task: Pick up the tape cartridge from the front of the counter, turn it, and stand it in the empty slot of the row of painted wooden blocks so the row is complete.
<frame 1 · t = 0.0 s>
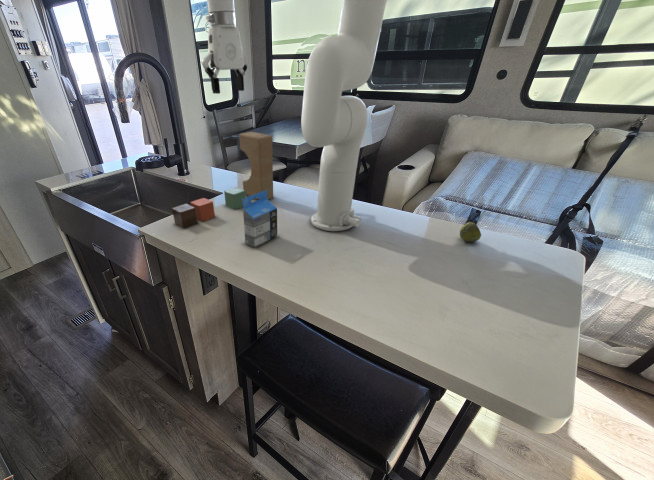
hand: (228, 91, 100), 31 cm above the kitchen counter, tool pointing down, fingers open, 9 cm apart
lime: (466, 241, 80), on the kitchen counter
block 3: (186, 223, 95), on the kitchen counter
block 1: (236, 205, 105), on the kitchen counter
tape cartridge: (261, 241, 85), on the kitchen counter
block 2: (204, 217, 98), on the kitchen counter
decorative block: (258, 196, 112), on the kitchen counter
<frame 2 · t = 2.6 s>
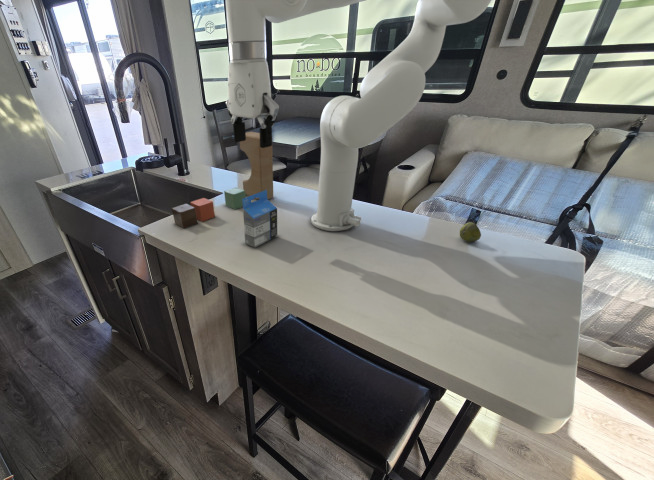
hand: (252, 143, 74), 23 cm above the kitchen counter, tool pointing down, fingers open, 9 cm apart
nothing on the kitchen counter moved.
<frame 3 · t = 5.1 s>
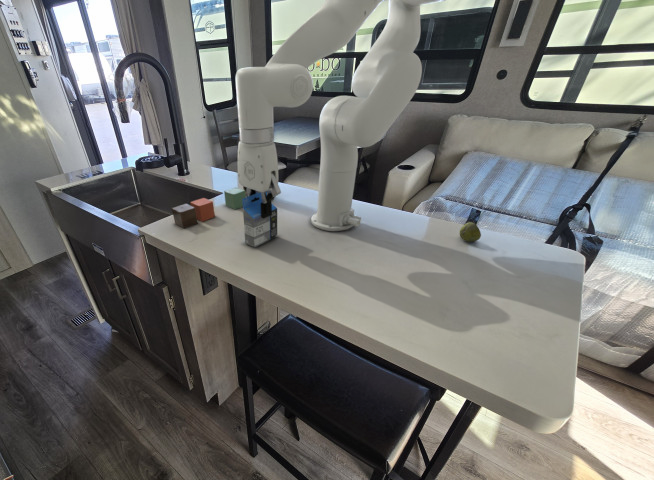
hand: (260, 213, 80), 8 cm above the kitchen counter, tool pointing down, fingers closed on tape cartridge, 3 cm apart
tape cartridge: (261, 240, 85), on the kitchen counter, touching gripper
everything else where it was.
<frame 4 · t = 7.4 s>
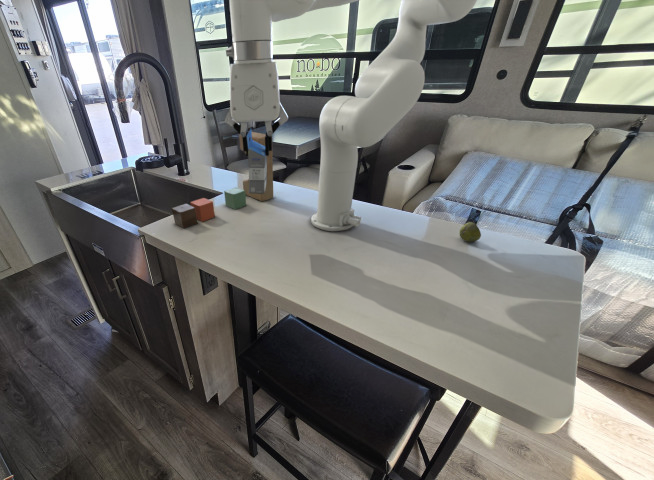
hand: (258, 153, 71), 22 cm above the kitchen counter, tool pointing down, fingers closed on tape cartridge, 3 cm apart
tape cartridge: (258, 188, 76), point 14 cm above the kitchen counter, touching gripper
everything else where it was.
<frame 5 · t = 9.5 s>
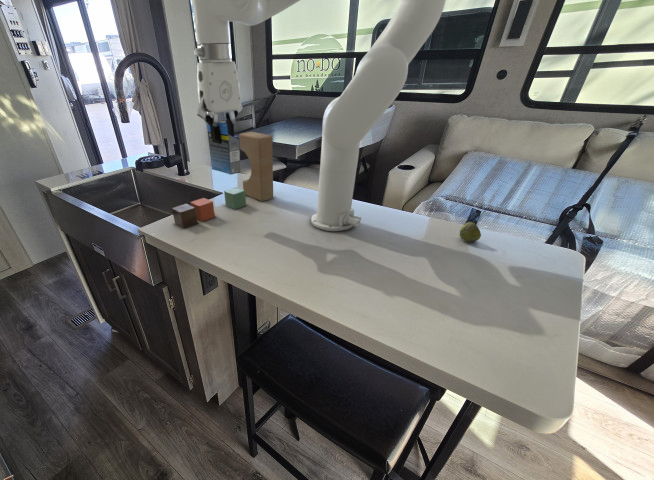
hand: (223, 140, 82), 22 cm above the kitchen counter, tool pointing down, fingers closed on tape cartridge, 3 cm apart
tape cartridge: (225, 171, 87), point 14 cm above the kitchen counter, touching gripper
everything else where it was.
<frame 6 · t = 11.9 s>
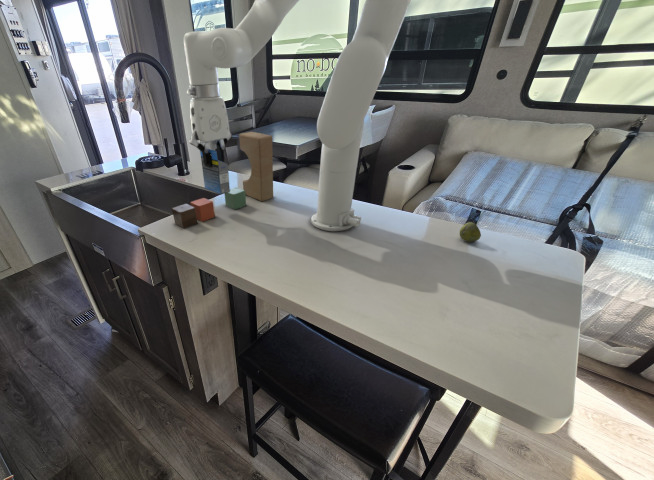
hand: (214, 164, 93), 15 cm above the kitchen counter, tool pointing down, fingers closed on tape cartridge, 3 cm apart
tape cartridge: (217, 190, 97), point 7 cm above the kitchen counter, touching gripper
everything else where it was.
when the fingers open (8 cm above the kitchen counter, at t = 13.8 s): tape cartridge stays where it is, on the kitchen counter.
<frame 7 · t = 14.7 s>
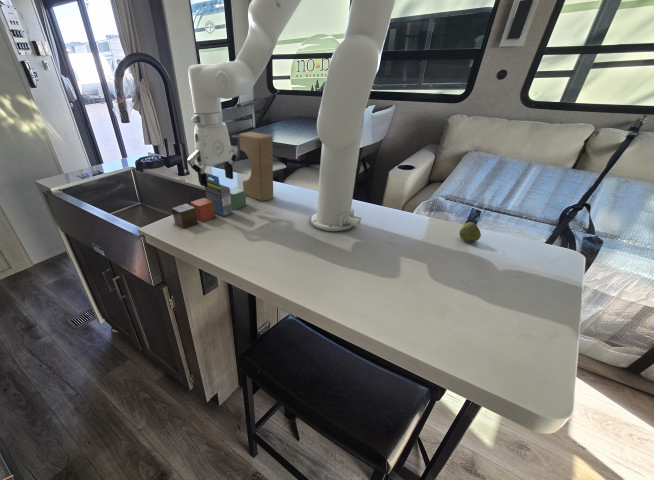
hand: (217, 182, 96), 9 cm above the kitchen counter, tool pointing down, fingers open, 9 cm apart
tape cartridge: (220, 212, 102), on the kitchen counter
everything else where it was.
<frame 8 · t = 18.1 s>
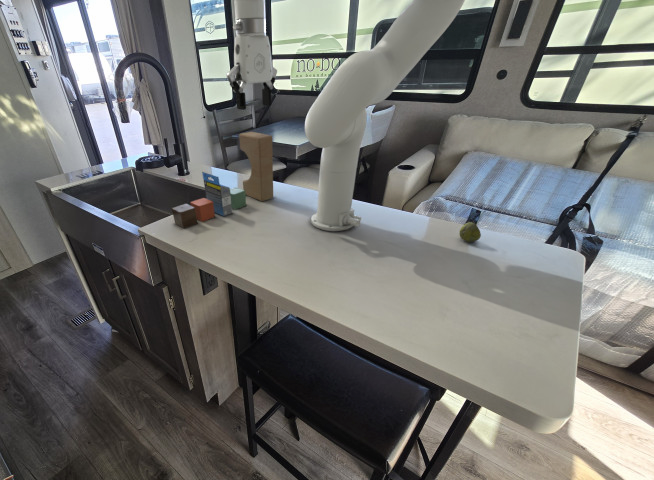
hand: (254, 107, 89), 28 cm above the kitchen counter, tool pointing down, fingers open, 9 cm apart
nothing on the kitchen counter moved.
at the end: tape cartridge 0.3 cm from the target spot on the kitchen counter beside the block 1, on the kitchen counter; tape cartridge tilted 0°; block 2 moved 0.0 cm from its start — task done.
